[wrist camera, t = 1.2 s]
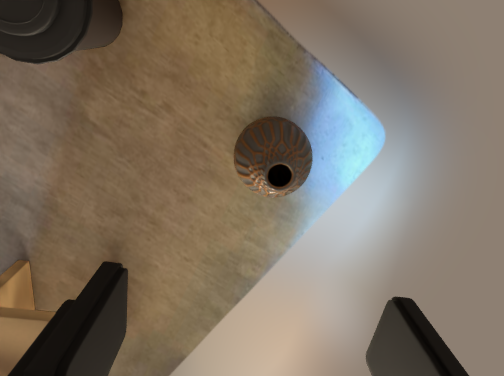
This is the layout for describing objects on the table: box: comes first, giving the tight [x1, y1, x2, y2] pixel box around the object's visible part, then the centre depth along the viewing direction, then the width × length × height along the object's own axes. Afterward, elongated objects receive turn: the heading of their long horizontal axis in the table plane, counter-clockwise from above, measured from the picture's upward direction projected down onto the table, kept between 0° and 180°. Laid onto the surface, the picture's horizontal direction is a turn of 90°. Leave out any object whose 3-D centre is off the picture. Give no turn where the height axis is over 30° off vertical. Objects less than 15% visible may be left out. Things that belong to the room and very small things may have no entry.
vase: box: [234, 117, 312, 197], centre depth 26 cm, size 7×7×9 cm
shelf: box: [0, 260, 56, 376], centre depth 32 cm, size 12×11×10 cm
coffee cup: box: [0, 0, 122, 64], centre depth 21 cm, size 8×8×10 cm
